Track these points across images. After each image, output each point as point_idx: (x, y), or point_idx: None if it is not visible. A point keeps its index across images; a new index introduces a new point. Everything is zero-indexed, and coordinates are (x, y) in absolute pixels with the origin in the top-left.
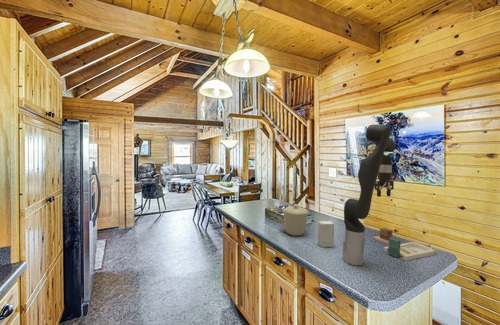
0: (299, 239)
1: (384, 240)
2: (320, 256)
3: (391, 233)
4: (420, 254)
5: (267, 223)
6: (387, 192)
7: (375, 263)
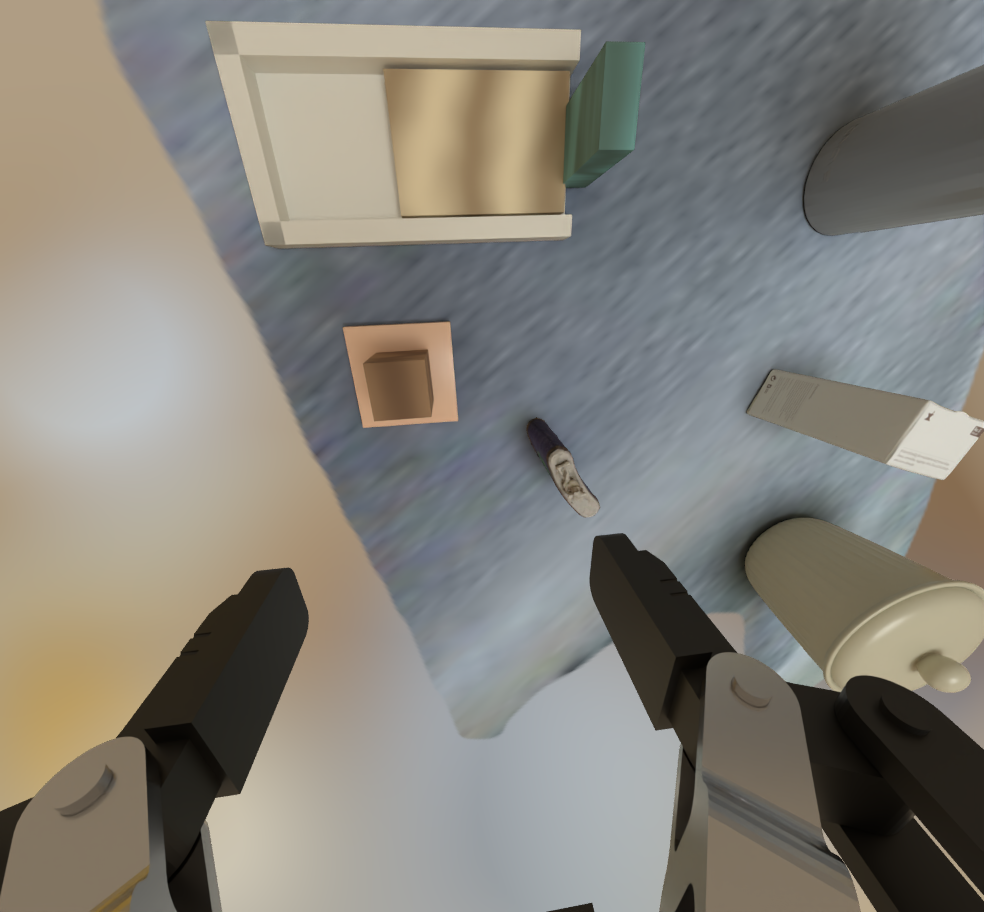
0: (822, 485)
1: (440, 354)
2: (919, 292)
3: (375, 359)
4: (417, 29)
5: (784, 653)
6: (264, 694)
7: (772, 107)
